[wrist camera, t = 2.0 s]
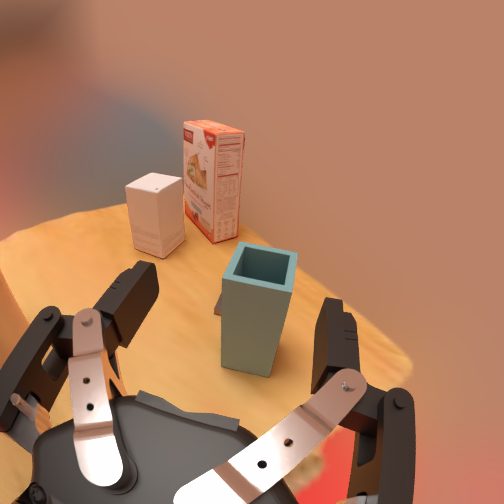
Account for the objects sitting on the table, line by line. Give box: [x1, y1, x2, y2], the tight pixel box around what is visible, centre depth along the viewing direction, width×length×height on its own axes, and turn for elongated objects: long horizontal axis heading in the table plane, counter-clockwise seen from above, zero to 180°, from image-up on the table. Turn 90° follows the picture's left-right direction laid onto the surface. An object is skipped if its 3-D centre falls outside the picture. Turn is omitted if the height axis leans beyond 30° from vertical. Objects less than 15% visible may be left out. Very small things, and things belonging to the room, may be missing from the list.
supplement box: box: [125, 173, 185, 259], centre depth 46 cm, size 7×7×13 cm
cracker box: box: [184, 120, 245, 244], centre depth 51 cm, size 14×6×21 cm, turn 33°
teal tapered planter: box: [221, 242, 298, 377], centre depth 29 cm, size 6×6×14 cm
